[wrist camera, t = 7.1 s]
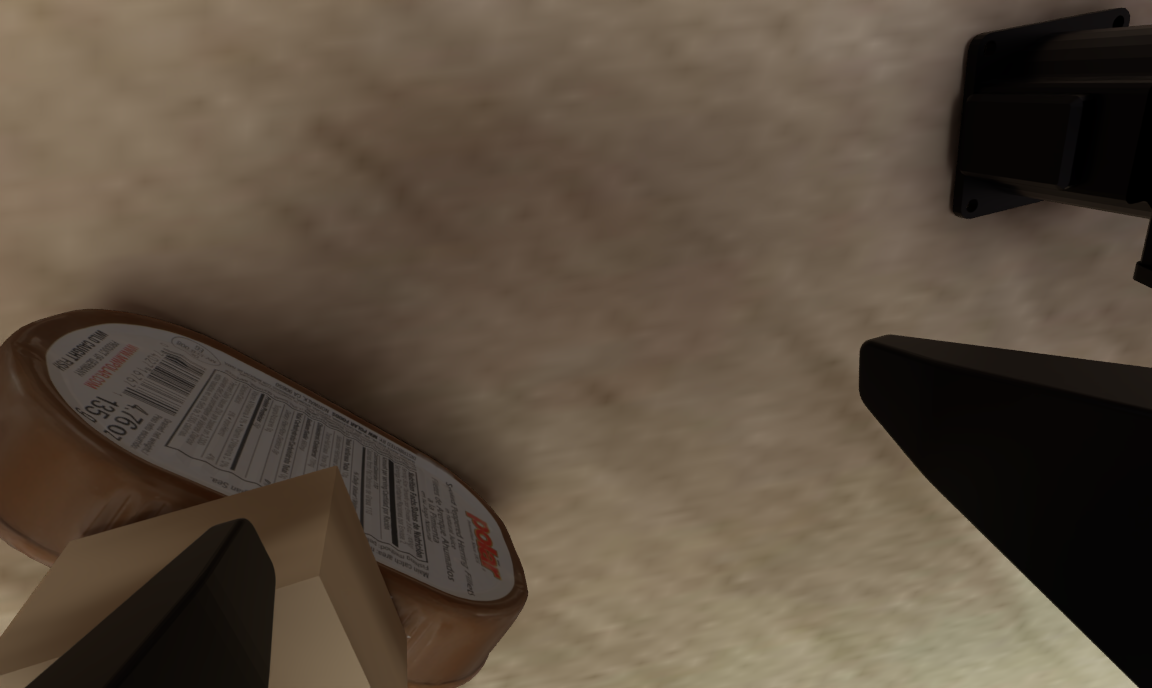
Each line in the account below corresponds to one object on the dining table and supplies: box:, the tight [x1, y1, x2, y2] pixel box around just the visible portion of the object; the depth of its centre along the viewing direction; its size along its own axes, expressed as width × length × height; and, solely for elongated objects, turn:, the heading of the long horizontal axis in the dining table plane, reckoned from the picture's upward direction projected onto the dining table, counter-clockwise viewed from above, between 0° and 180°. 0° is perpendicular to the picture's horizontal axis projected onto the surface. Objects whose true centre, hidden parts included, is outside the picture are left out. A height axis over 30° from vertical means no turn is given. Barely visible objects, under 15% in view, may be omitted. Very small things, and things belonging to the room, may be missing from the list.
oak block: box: [0, 465, 407, 688], centre depth 12 cm, size 5×5×3 cm
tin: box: [0, 309, 528, 688], centre depth 17 cm, size 15×3×8 cm, turn 49°
